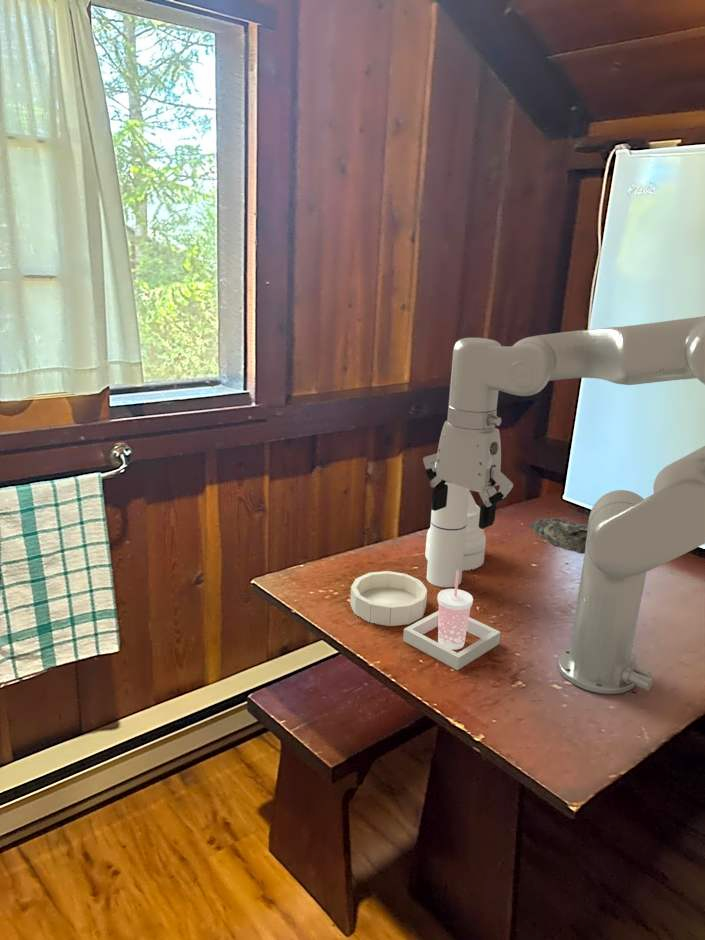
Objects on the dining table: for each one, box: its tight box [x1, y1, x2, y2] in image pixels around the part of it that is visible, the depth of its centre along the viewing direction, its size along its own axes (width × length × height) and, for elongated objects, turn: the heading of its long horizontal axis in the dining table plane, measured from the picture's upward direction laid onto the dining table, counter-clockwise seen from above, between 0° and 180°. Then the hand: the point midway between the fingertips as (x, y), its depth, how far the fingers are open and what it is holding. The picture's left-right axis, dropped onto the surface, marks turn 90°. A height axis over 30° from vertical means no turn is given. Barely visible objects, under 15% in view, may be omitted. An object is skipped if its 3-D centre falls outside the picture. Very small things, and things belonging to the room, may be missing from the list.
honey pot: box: [424, 492, 487, 572], centre depth 162 cm, size 13×13×18 cm
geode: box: [529, 516, 588, 555], centre depth 177 cm, size 19×4×15 cm
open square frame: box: [402, 610, 502, 671], centre depth 132 cm, size 12×12×2 cm
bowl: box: [349, 570, 428, 627], centre depth 143 cm, size 14×14×4 cm
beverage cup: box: [436, 570, 474, 651], centre depth 130 cm, size 6×6×14 cm
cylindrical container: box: [426, 461, 471, 588], centre depth 151 cm, size 7×7×25 cm
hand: (461, 517), depth 125 cm, fingers open, 9 cm apart
